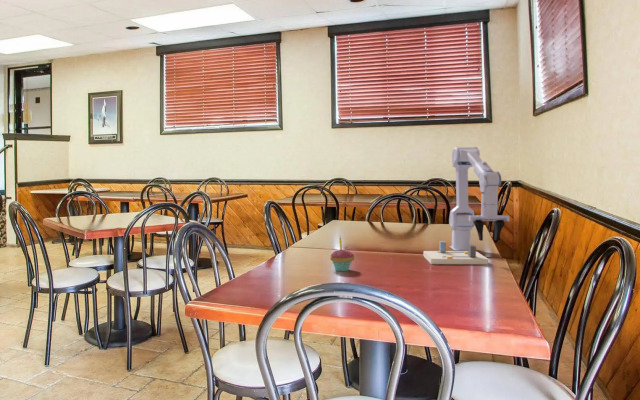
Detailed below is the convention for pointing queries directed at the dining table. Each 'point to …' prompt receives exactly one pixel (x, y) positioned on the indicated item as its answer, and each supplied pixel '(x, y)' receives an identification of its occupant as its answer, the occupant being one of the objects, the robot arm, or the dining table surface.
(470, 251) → the gray tab
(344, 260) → the cupcake
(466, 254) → the switch board
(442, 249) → the grey rectangular block
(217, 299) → the dining table surface
